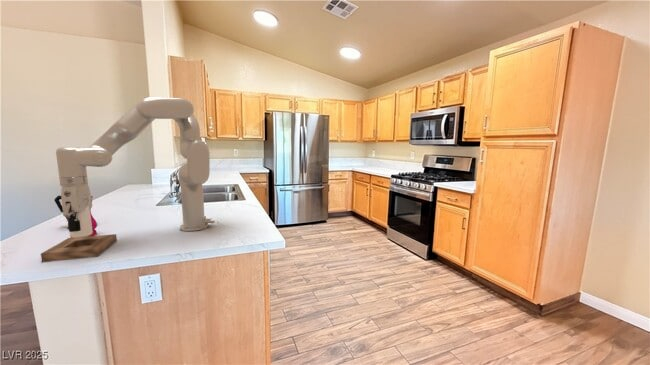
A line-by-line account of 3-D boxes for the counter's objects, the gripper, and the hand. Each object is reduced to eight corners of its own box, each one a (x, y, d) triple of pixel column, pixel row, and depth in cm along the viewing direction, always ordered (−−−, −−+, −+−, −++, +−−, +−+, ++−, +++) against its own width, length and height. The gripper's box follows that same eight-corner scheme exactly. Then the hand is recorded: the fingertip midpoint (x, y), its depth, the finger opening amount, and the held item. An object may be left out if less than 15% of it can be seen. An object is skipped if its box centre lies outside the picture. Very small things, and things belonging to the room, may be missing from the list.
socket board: (117, 241, 112) (116, 234, 112) (97, 256, 97) (96, 248, 97) (69, 244, 107) (68, 237, 107) (41, 261, 92) (40, 253, 92)
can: (96, 234, 104) (93, 203, 102) (76, 239, 98) (72, 207, 96) (86, 232, 106) (82, 202, 104) (65, 237, 100) (61, 206, 98)
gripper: (72, 184, 91) (79, 235, 94) (98, 177, 107) (102, 221, 110) (45, 185, 89) (52, 237, 92) (75, 178, 105) (80, 222, 108)
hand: (79, 228), depth 101 cm, fingers closed on can, 5 cm apart
